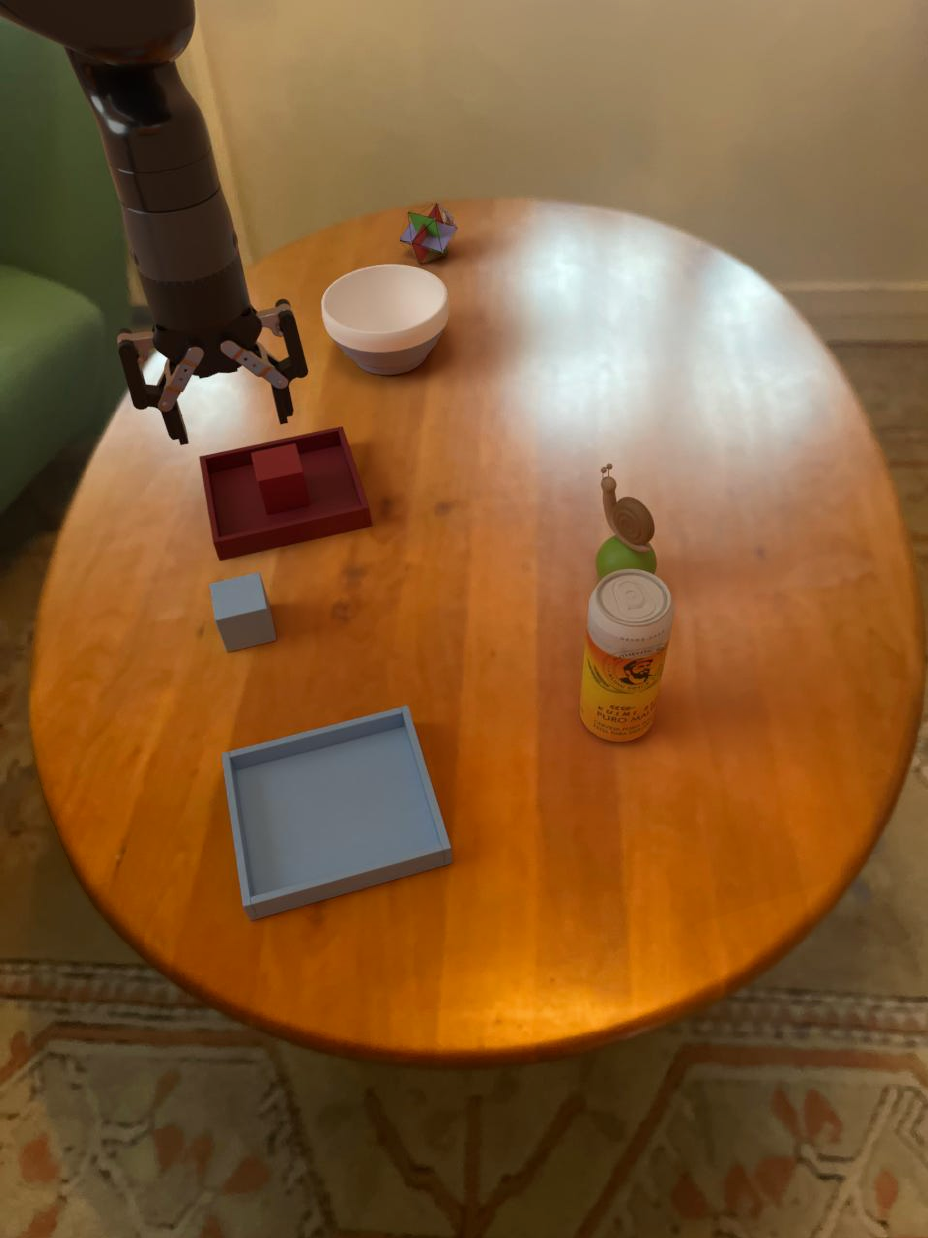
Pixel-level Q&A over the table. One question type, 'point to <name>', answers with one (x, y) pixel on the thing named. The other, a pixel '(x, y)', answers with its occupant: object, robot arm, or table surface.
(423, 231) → the geometric puzzle
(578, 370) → the table surface
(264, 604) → the blue block
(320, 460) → the burgundy tray
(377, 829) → the blue tray
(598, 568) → the snail figurine
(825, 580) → the table surface
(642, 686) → the beer can
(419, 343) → the bowl
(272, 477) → the burgundy block
